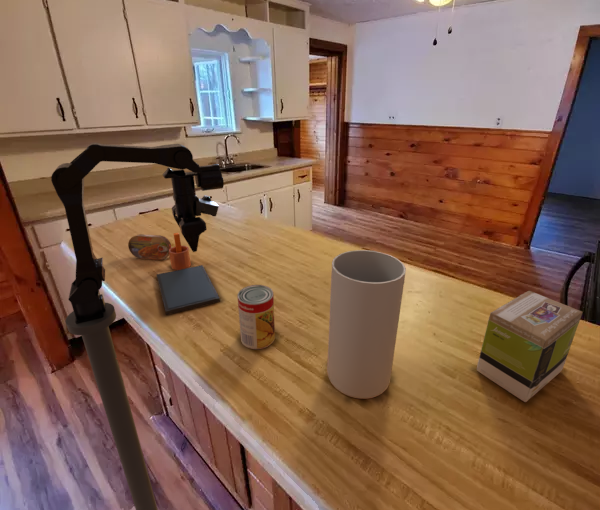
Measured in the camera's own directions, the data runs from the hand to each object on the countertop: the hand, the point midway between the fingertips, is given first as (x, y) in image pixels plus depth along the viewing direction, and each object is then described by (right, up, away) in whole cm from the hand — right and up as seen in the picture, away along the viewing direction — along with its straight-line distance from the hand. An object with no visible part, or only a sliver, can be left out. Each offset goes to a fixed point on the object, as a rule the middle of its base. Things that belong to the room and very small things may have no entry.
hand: (191, 245), depth 97 cm
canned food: (+21, -21, -18) cm, 35 cm away
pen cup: (-8, -7, +15) cm, 19 cm away
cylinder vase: (+43, -26, -29) cm, 58 cm away
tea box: (+76, -26, -28) cm, 85 cm away
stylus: (-8, -7, +15) cm, 18 cm away
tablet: (-2, -13, +2) cm, 13 cm away
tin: (-20, -5, +21) cm, 30 cm away
